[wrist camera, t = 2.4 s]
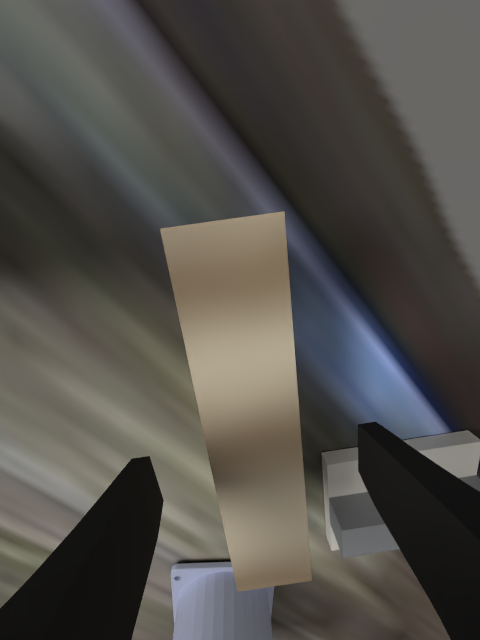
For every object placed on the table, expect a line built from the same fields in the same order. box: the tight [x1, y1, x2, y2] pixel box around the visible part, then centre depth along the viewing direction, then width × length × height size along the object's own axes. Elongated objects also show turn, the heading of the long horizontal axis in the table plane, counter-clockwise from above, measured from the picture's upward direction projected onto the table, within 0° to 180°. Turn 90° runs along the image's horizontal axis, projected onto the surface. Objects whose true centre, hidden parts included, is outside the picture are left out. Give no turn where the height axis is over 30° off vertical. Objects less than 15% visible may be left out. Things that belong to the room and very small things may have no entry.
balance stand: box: [321, 430, 480, 558], centre depth 16 cm, size 8×10×3 cm
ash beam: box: [160, 211, 312, 592], centre depth 12 cm, size 16×4×6 cm, turn 8°
